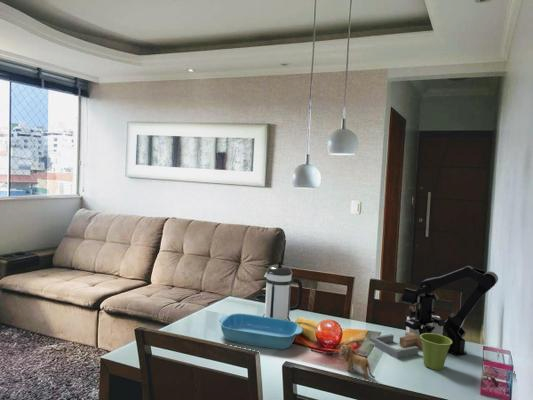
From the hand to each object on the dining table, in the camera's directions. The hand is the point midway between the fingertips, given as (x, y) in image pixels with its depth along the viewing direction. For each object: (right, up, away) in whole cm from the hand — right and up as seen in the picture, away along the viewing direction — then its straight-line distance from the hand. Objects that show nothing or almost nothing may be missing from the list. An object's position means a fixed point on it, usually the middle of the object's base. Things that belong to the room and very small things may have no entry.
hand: (423, 341), depth 195 cm
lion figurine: (-37, -1, -33) cm, 50 cm away
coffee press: (-64, +4, +21) cm, 68 cm away
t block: (-7, -1, -4) cm, 8 cm away
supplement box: (-3, +4, +12) cm, 13 cm away
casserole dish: (-73, +2, -5) cm, 74 cm away
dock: (-17, -1, -9) cm, 19 cm away
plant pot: (-4, -2, -24) cm, 24 cm away
